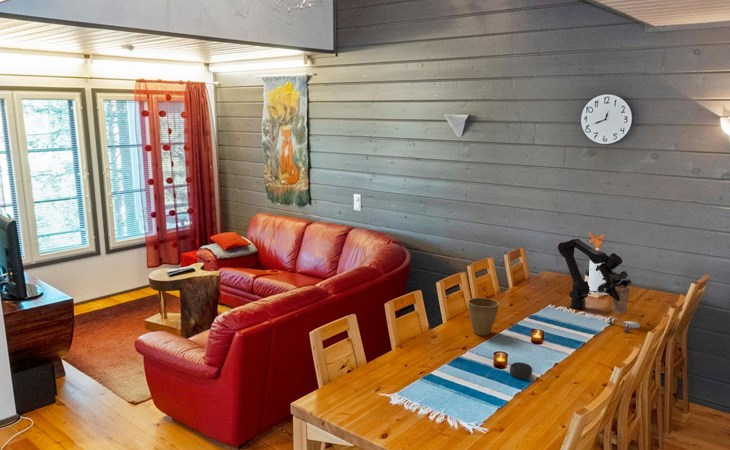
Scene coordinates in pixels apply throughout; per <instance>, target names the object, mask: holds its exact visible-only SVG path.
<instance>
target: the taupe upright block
mask: <svg viewBox="0 0 730 450" xmlns="http://www.w3.org/2000/svg"><path fill="white" fill-rule="evenodd" d="M615 291H616V293H617V295H618V297H619V301H617V300H615V299H614V298H613V297H612V303H611V312H613V313H616V314H618V315H621V314H627V310H628V302H629V296H630V295H629V294H630V287H624V286H616V287H615Z"/></svg>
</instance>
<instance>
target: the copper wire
mask: <svg viewBox="0 0 730 450" xmlns="http://www.w3.org/2000/svg"><path fill="white" fill-rule="evenodd" d="M613 320H616V321H617V323H618V324H621V325H623V326H624V325H626V326H625V329H624V330H623V331H622V332H623V333H625V334H630V333H631V331H630V330H629V324H628V323H625V322H626V321H622V320H621V319H620V318H619V317H617V316H615V315H609V321H608V322H606V324H607V323H608V324H607V325H609V324H610V325H609V326H614V325H615V323H614V322H613Z"/></svg>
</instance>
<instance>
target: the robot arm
mask: <svg viewBox="0 0 730 450" xmlns="http://www.w3.org/2000/svg"><path fill="white" fill-rule="evenodd" d="M575 249H577V250H579V251H580V252H582V253H583V254H585V255H586V256H587V257H588V259H589V261H590V262H591V263H593V265H596V268H595V270H596V271H599V273H601V275H602V281H605V282H603V283H601V284H599V285H598V291H597V292H599V293H602V292H603V293H604V294H607V295H609V296H610V297H611V298H612V299H613V298H614V299H615V300H617V301H619V297H618V295H617V293H616V291H615V287H616V286H624V287H626V288H628V287H629V286H630V285H632V281H631V279H629V278H628V276H629V274H628V272H627V271H626V270H624V271H620V273H617V272H616V271H615V272H614V270H615V269H617V268H618V267H619V266H620V265H622V264H623V258H621V256H619V255H618V254H617V253H614V252H613V253H611V254H610V255H607V253H605V252H603V251H601V250H598V249H597V250H596V249H594V248H593V247H591V246H589V244H587V243H586V242H584V241H582V240H581V239H580V238H572V239H570V240H568V241H563V242H559V243H558V246H557V250H558V252H559V254H560V255H561V256H562V257H563V258H564V260H565V262H566V265H567V267H568V271H569V273H570V275H571V279H572V290H571V291H570V292H569V294H568V295H569V298H571V302H570V306H569V308H571V309H575V310H578V311H582V310H584V309H585V308H586V300H585V299H586V298H588V296H589V295H590V293H591V292H590V289H589V288H590V287H589V285H588V282H587V281H585V279H583V278H582V277H583V276H582V274H581V272H580V270H579V267H578V263H577V261H576V258H575V252H576V251H575Z"/></svg>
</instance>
